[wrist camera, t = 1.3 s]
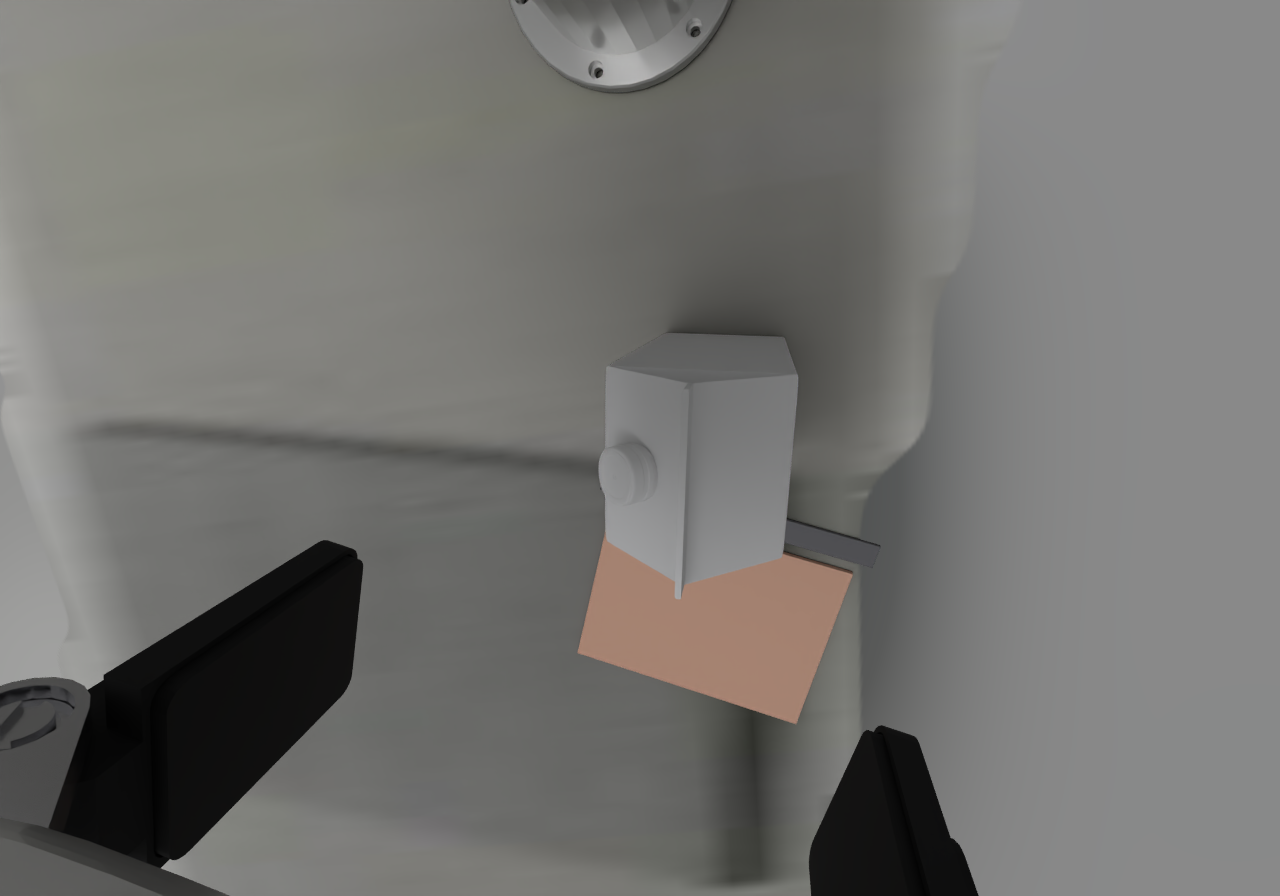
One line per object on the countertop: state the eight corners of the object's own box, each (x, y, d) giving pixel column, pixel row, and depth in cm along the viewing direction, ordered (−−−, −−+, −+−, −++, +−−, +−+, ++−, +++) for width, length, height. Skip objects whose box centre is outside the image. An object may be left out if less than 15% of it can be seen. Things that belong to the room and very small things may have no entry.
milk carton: (785, 335, 35) (807, 395, 18) (775, 452, 37) (787, 612, 19) (665, 331, 37) (571, 383, 19) (662, 444, 39) (575, 588, 21)
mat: (613, 501, 40) (611, 503, 40) (851, 571, 38) (852, 574, 38) (579, 649, 44) (577, 653, 44) (795, 720, 42) (795, 724, 42)
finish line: (605, 466, 40) (604, 468, 40) (879, 545, 38) (880, 547, 37) (601, 487, 40) (600, 489, 40) (871, 565, 38) (872, 568, 38)
